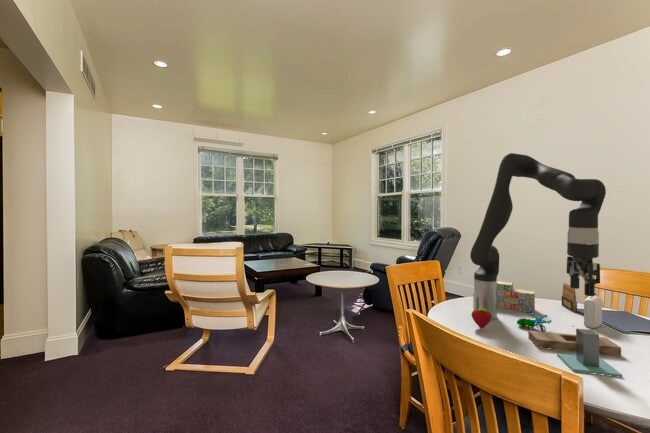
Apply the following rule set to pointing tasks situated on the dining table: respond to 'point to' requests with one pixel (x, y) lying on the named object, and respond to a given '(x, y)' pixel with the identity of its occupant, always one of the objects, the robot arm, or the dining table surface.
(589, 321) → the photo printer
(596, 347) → the steel plug
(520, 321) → the stick construction toy
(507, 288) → the stack of blocks
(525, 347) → the dining table surface
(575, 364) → the teal pad
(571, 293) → the brown flat upright panel
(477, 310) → the strawberry
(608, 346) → the brown slotted block
